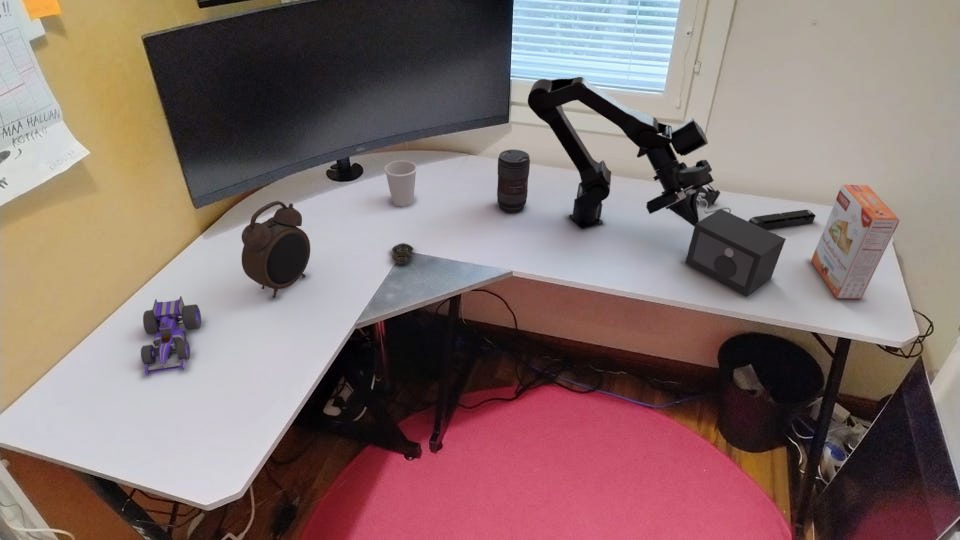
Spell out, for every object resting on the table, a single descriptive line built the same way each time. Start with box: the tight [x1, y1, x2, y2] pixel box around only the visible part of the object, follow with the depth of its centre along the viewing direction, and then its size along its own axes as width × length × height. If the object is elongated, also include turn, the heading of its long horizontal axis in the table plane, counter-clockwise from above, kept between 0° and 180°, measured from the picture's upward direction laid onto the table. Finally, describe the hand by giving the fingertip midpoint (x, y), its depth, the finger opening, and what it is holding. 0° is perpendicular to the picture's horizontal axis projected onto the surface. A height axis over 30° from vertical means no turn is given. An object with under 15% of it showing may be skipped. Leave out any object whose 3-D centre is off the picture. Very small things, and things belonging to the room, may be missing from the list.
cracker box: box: [810, 184, 901, 300], centre depth 133 cm, size 14×6×21 cm, turn 178°
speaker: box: [684, 208, 786, 297], centre depth 138 cm, size 16×10×11 cm, turn 40°
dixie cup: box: [384, 159, 418, 207], centre depth 162 cm, size 8×8×10 cm
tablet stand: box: [747, 209, 817, 231], centre depth 157 cm, size 18×3×3 cm, turn 104°
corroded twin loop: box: [391, 242, 414, 265], centre depth 144 cm, size 5×8×1 cm, turn 3°
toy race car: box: [140, 295, 202, 376], centre depth 118 cm, size 10×15×6 cm, turn 13°
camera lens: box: [496, 149, 531, 214], centre depth 159 cm, size 8×8×15 cm
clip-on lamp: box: [675, 183, 732, 214], centre depth 161 cm, size 12×6×18 cm
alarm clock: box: [241, 200, 311, 299], centre depth 130 cm, size 15×7×20 cm, turn 148°
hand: (696, 225), depth 144 cm, fingers closed
